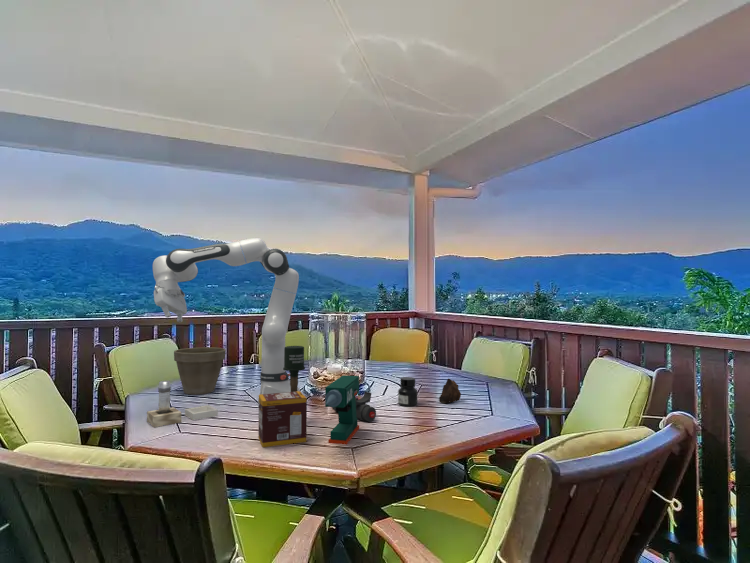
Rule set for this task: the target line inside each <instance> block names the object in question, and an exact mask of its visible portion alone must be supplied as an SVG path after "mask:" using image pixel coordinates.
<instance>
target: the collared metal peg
mask: <svg viewBox="0 0 750 563" xmlns="http://www.w3.org/2000/svg"><path fill="white" fill-rule="evenodd" d="M157 390H158V410H159V415H160V414H166V413H170V408H171V380H161V381H159V382H158V388H157Z"/></svg>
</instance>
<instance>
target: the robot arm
mask: <svg viewBox="0 0 750 563" xmlns="http://www.w3.org/2000/svg"><path fill="white" fill-rule="evenodd" d="M211 260H217V261H220V262H223V263H225V264H226V265H228V266H230V267H240V266H243V265H246V264H249V263H252V262H259V263H260V265H261V266H262V267H263V268H264V270H266V272H268V273H271V274H274V277H275V279H274V280H275V282H274V285H273V288H272V292H271V295H270V299H269V303H268V307H267V310H266V314H265V317H264V321H263V325H262V326H261V327H262V328H261V368H260V369H261V372H260V377H259V378H260V380H259V381H260V390H259V395H260V394H273V393H285V392H291V386H290V372H289V373H288V371H285V370H283V368H284V348H285V347H286V335H287V332H288V328H289V323H290V319H291V314H292V311H293V306H294V304H295V300H296V295H297V292H298V288H299V281H300V278H299V277H300V276H299V272H298V271H297V270H295V269H294V268H291V267H290V265H289V260H288V257H287V254H285V252H284V251H283V250H281V249H279V248H271V249H270V248H268V245H267V243H266V242H265V240H263V238H260V237H252V238H246V239H241V240H237V241H234V242H233V241H232V242H227V243H215V244H214V243H213V244H210V245H209V244H208V245H203V246H197V247H193V248H175V249H172V251H170V252H168V254H167V255H159V256H158V257H156V258H155V259H154V260H153V262H152V273H153V278H154V281H155V286H154V290H153V300H154V303H155V306H157V307H160V308H161V310H162V312H163V313H164V317H165V318H170V317H172V314H171V313H173V314H175V315H176V317H177V318H176V322H177V323H182V322H184V321H183V316H184V315H186V314H187V312H188V308H187V303H186V299H185V297H186V294H185V292H184V291H183V290H182V289H181V288H180V285H179V284H178V283H184V282H190V281H192V280H194V279H195V278H196V277H197V275H198V273H199V269H198V267H197V264H196V263H201V262H206V261H211ZM297 391H300V392H301V393H302V391H301V389H300V388H299V387H297ZM257 404H258V405H259V398H258V400H257Z"/></svg>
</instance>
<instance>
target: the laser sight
mask: <svg viewBox="0 0 750 563" xmlns="http://www.w3.org/2000/svg"><path fill="white" fill-rule="evenodd" d="M363 394H364V395H363V396H362V397H361V398H358V397H355V399H356V416H357V418H358V421H363V422H369V423H370V422H373V421H374V420H375V418H376V416H377V410H376V408H375V407H374V406H371V405H370V404H367V403H370V402H371V399H372V392H369V391H364V393H363ZM331 408H332V410H333V411H335V412H337V411H336V407H331Z"/></svg>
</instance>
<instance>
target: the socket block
mask: <svg viewBox="0 0 750 563" xmlns="http://www.w3.org/2000/svg"><path fill="white" fill-rule="evenodd" d="M146 411H147V410H146ZM146 422H147V423H148V424H149V423H150V424H151V426H152V427H153V428H159V426H160V427H164V426H163V425H165V426H169V424H170V425H175V423H176V424H180V423H182V411H180V410H178V409H177V408H175V407H174V406H172V407H170V413H166V414H160V415H159V409H154V410H150V411H149V410H148V411H147V412H146ZM150 424H149V425H150Z"/></svg>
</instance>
